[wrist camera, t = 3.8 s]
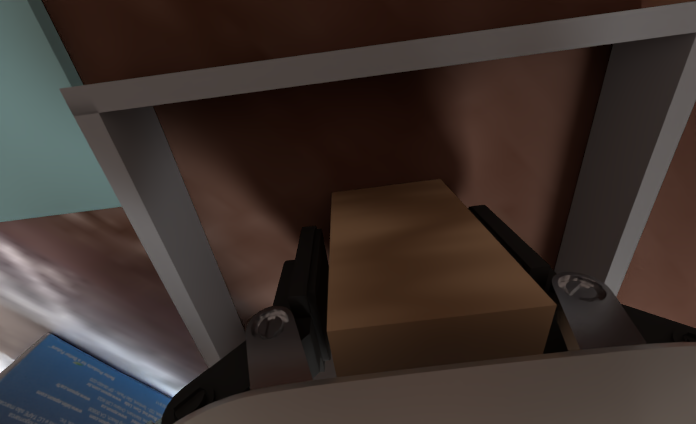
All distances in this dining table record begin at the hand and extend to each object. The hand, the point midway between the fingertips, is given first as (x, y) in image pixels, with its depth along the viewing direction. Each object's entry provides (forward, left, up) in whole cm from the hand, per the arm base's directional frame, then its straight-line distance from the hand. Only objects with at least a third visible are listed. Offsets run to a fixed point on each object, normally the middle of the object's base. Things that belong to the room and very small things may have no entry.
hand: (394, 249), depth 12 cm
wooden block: (0, 0, -1) cm, 1 cm away
